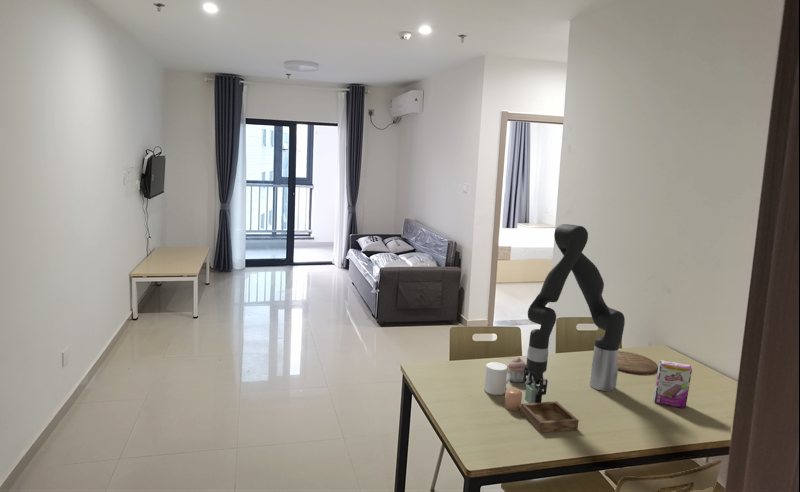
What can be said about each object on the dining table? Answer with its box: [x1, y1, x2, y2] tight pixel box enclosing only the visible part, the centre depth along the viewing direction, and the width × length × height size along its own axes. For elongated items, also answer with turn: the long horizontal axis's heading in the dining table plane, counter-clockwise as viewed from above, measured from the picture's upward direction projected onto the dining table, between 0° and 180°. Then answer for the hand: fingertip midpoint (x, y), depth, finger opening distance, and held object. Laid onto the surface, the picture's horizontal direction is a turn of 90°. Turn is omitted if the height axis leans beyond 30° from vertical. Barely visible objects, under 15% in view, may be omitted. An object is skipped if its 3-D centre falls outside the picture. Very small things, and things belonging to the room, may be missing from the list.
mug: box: [483, 361, 511, 396], centre depth 216 cm, size 8×10×12 cm
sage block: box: [524, 384, 543, 403], centre depth 207 cm, size 4×4×6 cm
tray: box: [519, 401, 580, 434], centre depth 192 cm, size 14×14×4 cm
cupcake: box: [506, 356, 526, 384], centre depth 227 cm, size 9×9×10 cm
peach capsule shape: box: [503, 387, 523, 412], centre depth 202 cm, size 6×6×6 cm
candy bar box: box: [653, 359, 693, 409], centre depth 211 cm, size 11×5×16 cm, turn 71°
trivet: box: [616, 350, 658, 375], centre depth 253 cm, size 25×25×2 cm
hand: (533, 398), depth 207 cm, fingers open, 7 cm apart
